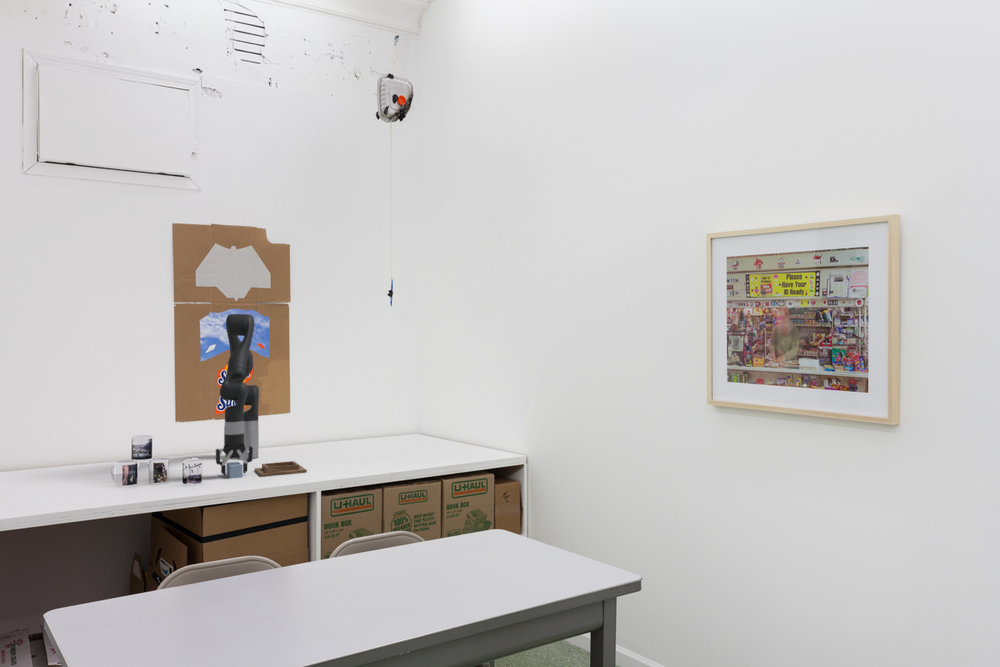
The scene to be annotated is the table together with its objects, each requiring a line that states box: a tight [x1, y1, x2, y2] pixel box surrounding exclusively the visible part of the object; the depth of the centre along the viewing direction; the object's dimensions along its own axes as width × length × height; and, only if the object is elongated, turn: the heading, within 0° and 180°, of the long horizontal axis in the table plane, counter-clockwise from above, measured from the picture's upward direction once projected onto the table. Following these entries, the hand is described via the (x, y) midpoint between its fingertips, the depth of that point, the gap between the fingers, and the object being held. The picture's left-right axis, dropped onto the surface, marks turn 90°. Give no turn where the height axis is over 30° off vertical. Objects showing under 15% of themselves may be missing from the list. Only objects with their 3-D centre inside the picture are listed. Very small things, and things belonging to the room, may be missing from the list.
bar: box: [225, 461, 243, 479], centre depth 281 cm, size 9×4×5 cm, turn 30°
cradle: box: [254, 460, 307, 478], centre depth 290 cm, size 14×18×3 cm
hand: (234, 473), depth 281 cm, fingers open, 7 cm apart
